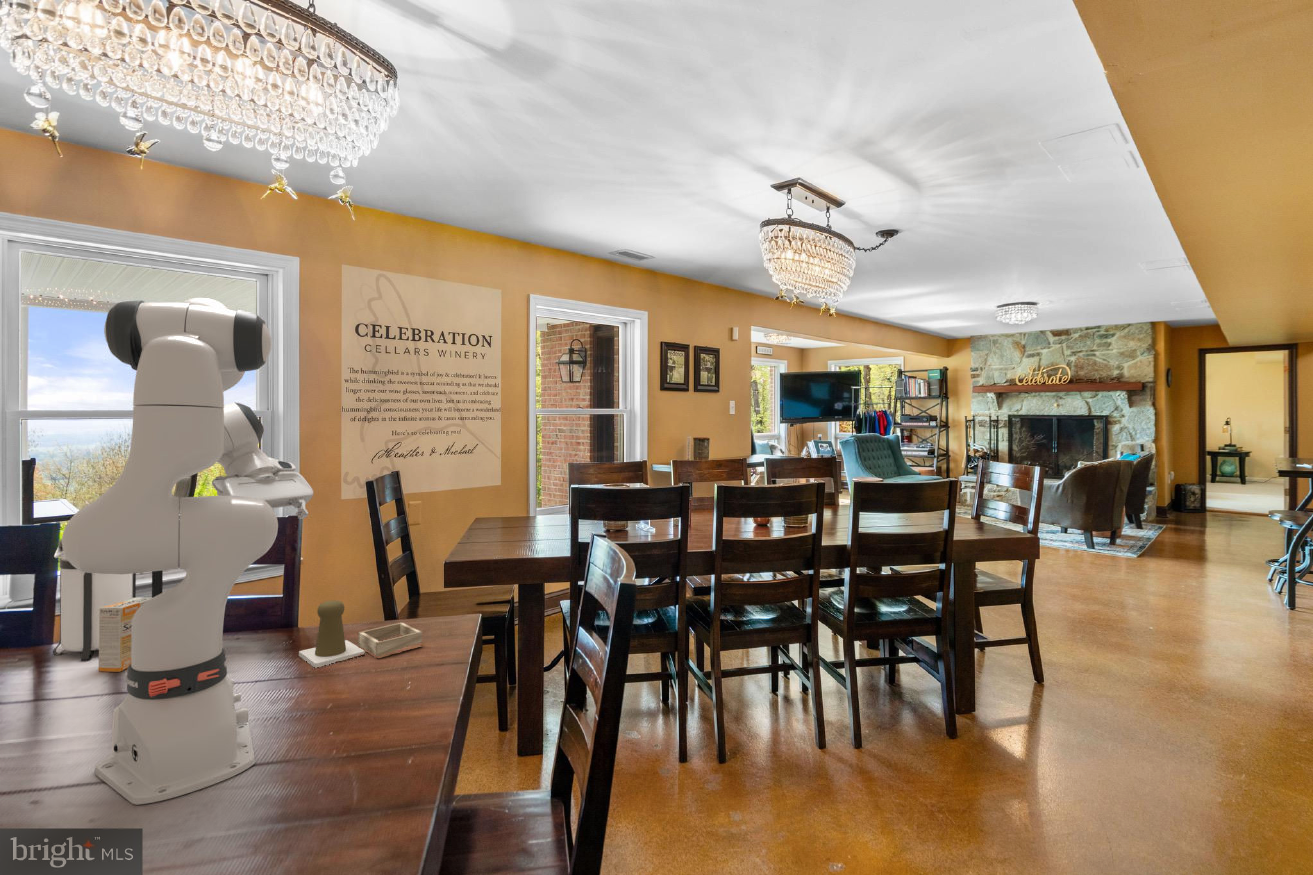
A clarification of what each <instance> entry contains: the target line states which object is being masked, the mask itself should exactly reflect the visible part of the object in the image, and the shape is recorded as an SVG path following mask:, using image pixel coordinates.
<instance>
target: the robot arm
mask: <svg viewBox="0 0 1313 875" xmlns="http://www.w3.org/2000/svg"><path fill="white" fill-rule="evenodd" d="M104 322H105V323H104V326H103V332H104V333H103V334H104V337H105V341H106V343H107V346H108V350H109V352H110V353H111V354H112V355H113V356H114V357H115V358H117V359H118V360H119V361H120V362H121V363H124V364H126V365H129V366H130V368H131V369H132V370H133V371H136V372H135V380H134V384H133V386H134V387H133V399H132V401H133V402H132V409H133V410H132V413H133V414H132V433H131V442H130V449H129V454H128V459H127V461H126V464H125V466H124V469H123V470H122V472H121V474H120V475H119V477H118V478H117V479H116V481H115V482H114V483H113V484H112V485H111V486H110V487H109V488H108V489H107V490H106V491H105V492H104V493H103V494H102V495H100V496H99V497H98V498H96V499H95V500H93V501H92V502H91V503H88V504H87V505H85V506H83V507H82V508H81V509H79V510H78V511H77V512H76V513H74V514H73V516H72V517H71V518H70V519H69V521H68V522H67V524H66V525H65V527H64V530H63V532H62V535H61V540H62V548H63V551H64V554H65V556H66V558H67V559H68V561H69V562H70V563H71V564H72V565H73V566H74V567H75V568H76V569H78V570H79V571H81V572H85V573H99V574H132V573H136V574H140V573H141V574H142V573H152V571H162V570H163V571H170V570H172V571H173V570H183V571H185V572H186V574H185V576H184V577H183V579H182V580H181V581H180V582H178V583H177V585H174V586H173V587H171V588H170V589H169V588H168V589H167V590H165V591H162V593H161V594H159V595H157V596H155V597H153V598H152V597H151V598H152V599H150V600H148V601H147V602H145V603H144V604H143V605H142V606H141V607H139V609H138V610H137V611H136V613H135V614H134V616H133V618H132V622H131V664H130V665H129V666H128V668H127V672H126V673H127V674H126V676H125V677H126V678H125V682H126V691H127V692H126V693H128V694H127V695H126V697H125V698H124V699H123V700H122V702H120V704H119V705H117V706H116V708H114V710H113V714H112V730H111V748H110V749H111V751H110V756H107V757H106V758H104V759H102V760H101V761H100V762H97V764H96V765H95V768H94V774H95V775H96V776H97V777H98V778H99V779H101V780H102V781H103V782H105V783H106V784H107V785H108V786H110V787H111V788H112V789H113V790H115V791H116V792H117V793H118V794H120V795H121V796H122V797H124V799H125V800H127V801H129V802H130V803H131V804H133V805H145V804H150V803H157V802H162V801H165V800H169V799H172V798H177V797H180V796H183V795H186V794H189V793H192V792H196V791H198V790H201V789H205V788H207V787H210V786H213V785H216V784H217V783H220V782H223V781H225V780H227V779H230V778H232V777H234V776H236V775H239V774H240V773H242V772H244V771H246V770H248V769H249V768H251V767H252V766H253V765H255V763H256V760H255V759H256V758H255V751H254V746H253V740H252V739H253V737H252V733H251V732H252V731H251V726H250V725H251V724H250V722H249V707H247V706H245V707H240V708H237V709H236V708H235V703H236V704H237V703H239V702H240V703H241V700H242V694H241V692H236V693H234V679H232V678H231V677H228V671H227V665H228V661H227V660H228V658H227V656H226V650H225V648H223V634H224V633H223V631H224V618H225V612H226V611H225V610H226V605H227V601H228V598H229V595H230V593H231V591H232V589H233V587H234V585H235V584H236V582H237V580H238V579H239V578H240V577H241V575H242V574H243V573H244V572H245V571H246V570H247V569H248V568H249V566H251V565H252V564H254V563H255V561H257V560H258V559H260V558H261V557H263V556H264V555H265V554H266V553H267V552H268V551H269V550H270V549H271V548H272V546H273V545H274V543H275V541H276V538H277V536H278V531H279V530H278V529H279V521H278V517H277V514H276V512H275V511H274V509H278V508H285V507H293V508H294V509H297V511H296V513H295V515H296V516H297V518H298V519H300V520H301V519H306V518H307V517H308V516H309V511H308V510H307V509H306V504H307V503H309V502H310V501H311V499H312V498H313V497H314V489H313V487H311V485H310V484H309V482H307V480H306V479H305V477H304V476H303V475H301V473H299V472H298V471H295V470H296V469H297V467H296V466H295V464H294V463H292V462H289V461H284V460H280V459H276V458H273V457H270V456H268V455H267V454H266V453H265V452H264V451H262V450H261V449H260V447H259V444H260V443H261V441H262V438H263V435H264V431H265V430H264V425H263V423H262V421H261V420H260V419H259V418H258V416H257V415H256V414H255V412H254V411H253V410H252V408H251V407H250V406H248V405H245V404H243V403H240V402H232V403H228V404H225V402H224V401H225V399H224V393H225V391H226V392H227V391H228V390H230V389H232V388H233V387H235V386H236V385H237V384H238V383H239V382H240V381H241V380H242V379H243V377H244V375H245V372H251V371H255V370H259V369H260V368H262V367H263V366H264V365H265V364H266V362H267V359H268V357H269V355H270V353H271V351H272V350H271V348H272V338H271V334H270V331H269V328H268V327H267V325H266V322H265V320H264V319H262V318H261V316H259V315H258V314H256V313H253V312H250V311H247V310H242V309H237V310H233V309H229V308H228V307H227V306H226V305H224V304H223V303H222V302H220V301H218V300H215V299H212V298H208V297H206V298H205V297H192V298H189V299H186V300H183V301H181V302H175V301H174V302H173V301H153V302H151V301H150V302H149V301H148V302H145V301H144V300H127V301H121V302H117V303H116V304H114V306H112V307H111V308H110V309H109V310H108V312H107V314H106V319H105V321H104ZM224 404H225V405H224ZM217 463H218V465H220V466H222V467H223V469H224V473H225V475H219V476H216V477H215V478H214V479H213V480H212V481H211V485H212V486H213V488H214V490H215V491H216V494H217V495H210V496H208V495H206V496H184V497H183V496H182V497H181V496H175V495H174V494H173V489H174V487H175V485H177V484H178V483H179V482H181V481H182V480H183V479H187V478H188V477H191V476H194V475H196V474H198V473H200V472H202V471H205V470H206V469H209V468H210V467H212V466H215V464H217Z"/></svg>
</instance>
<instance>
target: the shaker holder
mask: <svg viewBox="0 0 1313 875" xmlns="http://www.w3.org/2000/svg"><path fill="white" fill-rule="evenodd" d="M357 634H358V635H357V646H358V645H359V646H360V647H362V648H364V649H366V650H367V651H369V652H370V653H373V654H375V655H376V656H380V655H383V654H386V653H390V652H392V651H396V650H398V649H402V648H404V647H408V646H410V645H414V644H418V643H420V642H422V643H423V631H421V630H420V629H416V628H415V627H412V626H410V625H408V624H406V623H404V622H396V623H392V624H388V625H384V626H379V627H375V628H371V629H365V630H363V631H358V632H357ZM399 634H401V635H403V636H399V637H395V638H391V639H387V640H383V641H378V640H381V639H384V638H388V637H391V636H395V635H399Z"/></svg>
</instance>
